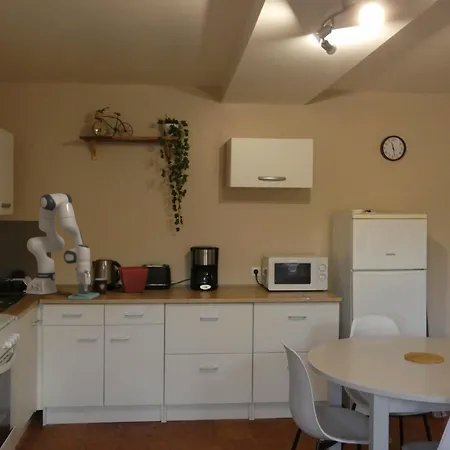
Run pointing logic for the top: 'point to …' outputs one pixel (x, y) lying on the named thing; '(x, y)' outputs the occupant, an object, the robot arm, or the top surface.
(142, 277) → the plant pot
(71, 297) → the tray
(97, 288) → the coffee mug
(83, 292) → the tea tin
